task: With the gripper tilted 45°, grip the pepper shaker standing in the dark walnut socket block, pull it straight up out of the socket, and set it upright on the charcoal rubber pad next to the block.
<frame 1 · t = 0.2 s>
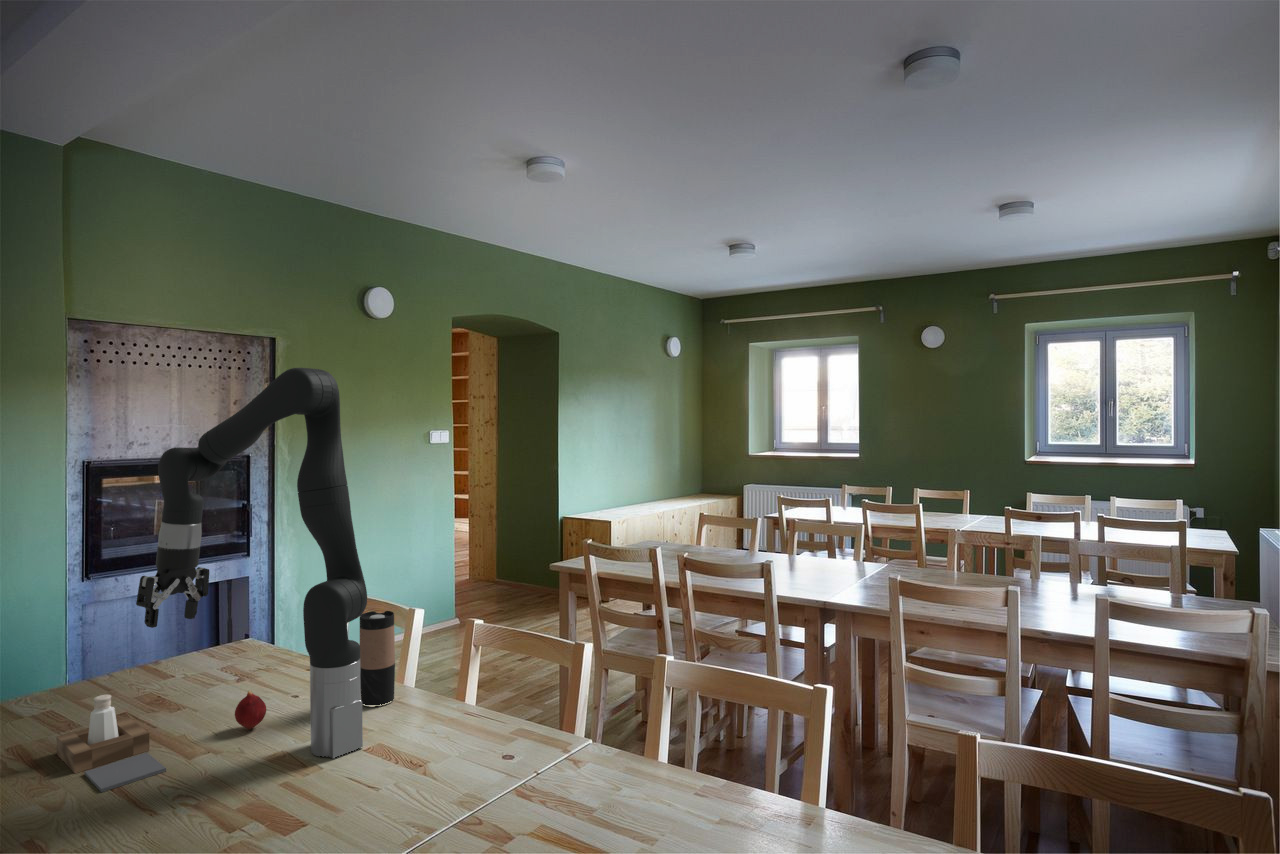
hand: (170, 622, 153), 23 cm above the table, tool pointing down, fingers open, 8 cm apart
pepper shaker: (103, 753, 145), resting in socket block
rubber pad: (125, 772, 137), on the table
travel mug: (377, 702, 171), on the table
socket block: (103, 752, 145), on the table
onion: (250, 730, 156), on the table
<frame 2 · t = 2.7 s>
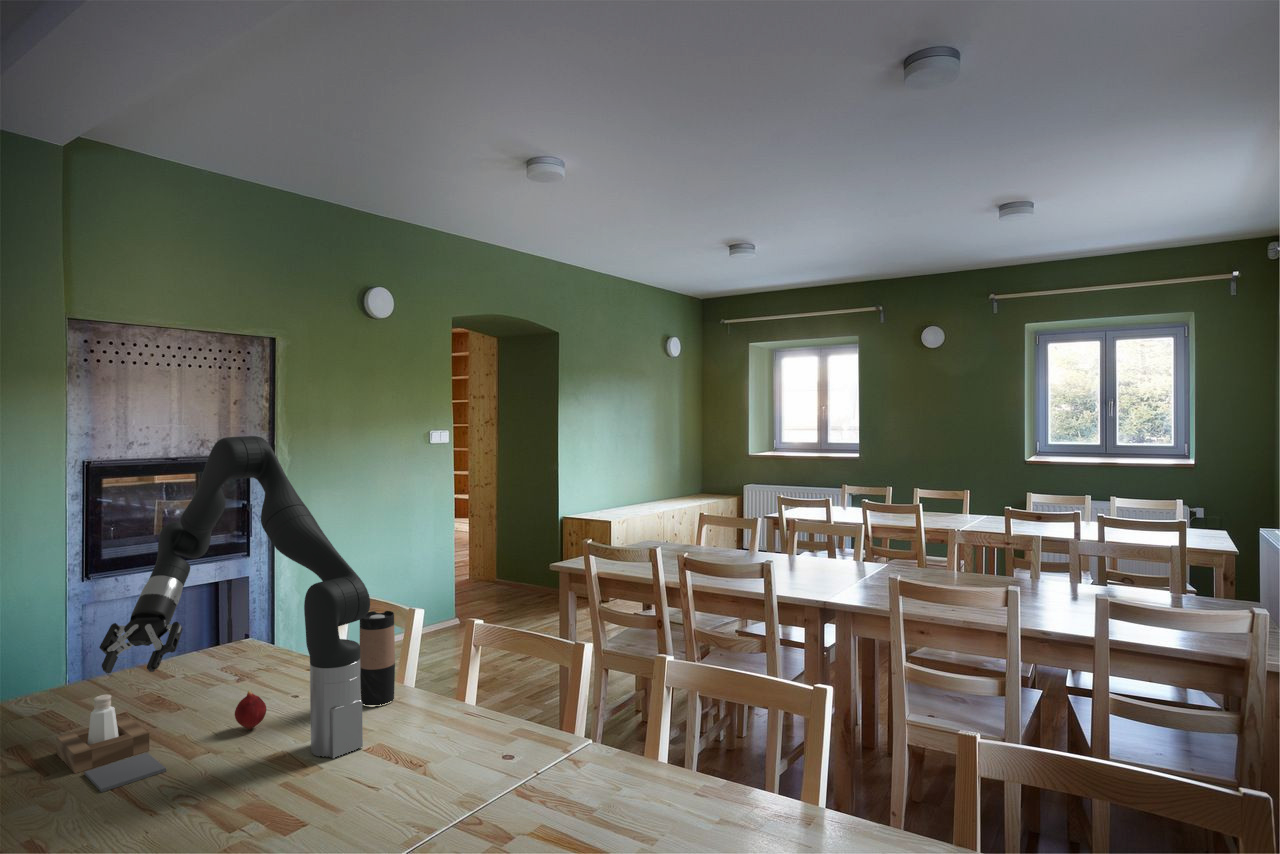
hand: (128, 670, 153), 13 cm above the table, tool tilted 45°, fingers open, 8 cm apart
nothing on the table moved.
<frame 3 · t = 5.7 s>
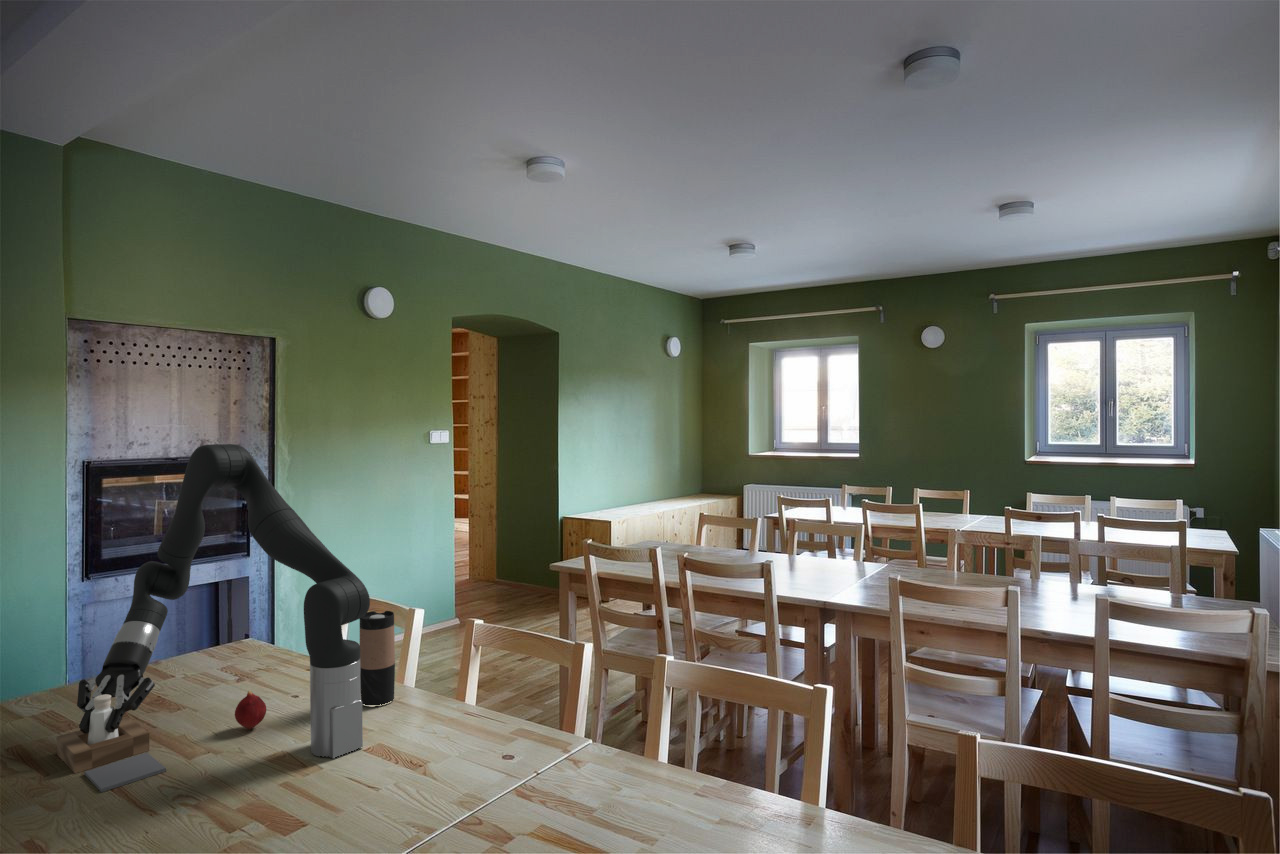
hand: (96, 731, 143), 5 cm above the table, tool tilted 45°, fingers closed on pepper shaker, 4 cm apart
pepper shaker: (103, 753, 145), resting in socket block, touching gripper
everything else where it was.
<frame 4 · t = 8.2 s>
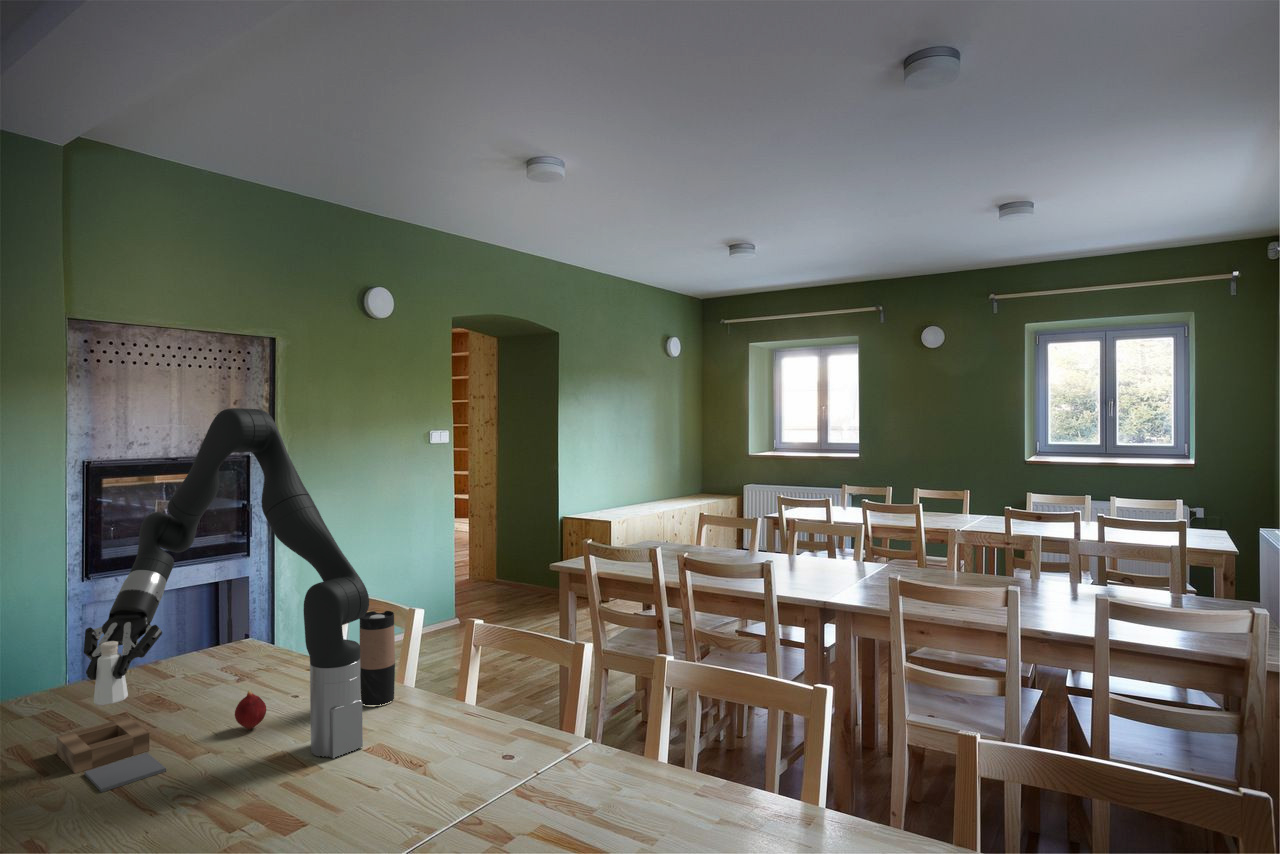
hand: (104, 677, 141), 16 cm above the table, tool tilted 45°, fingers closed on pepper shaker, 4 cm apart
pepper shaker: (111, 700, 143), point 11 cm above the table, touching gripper
everything else where it was.
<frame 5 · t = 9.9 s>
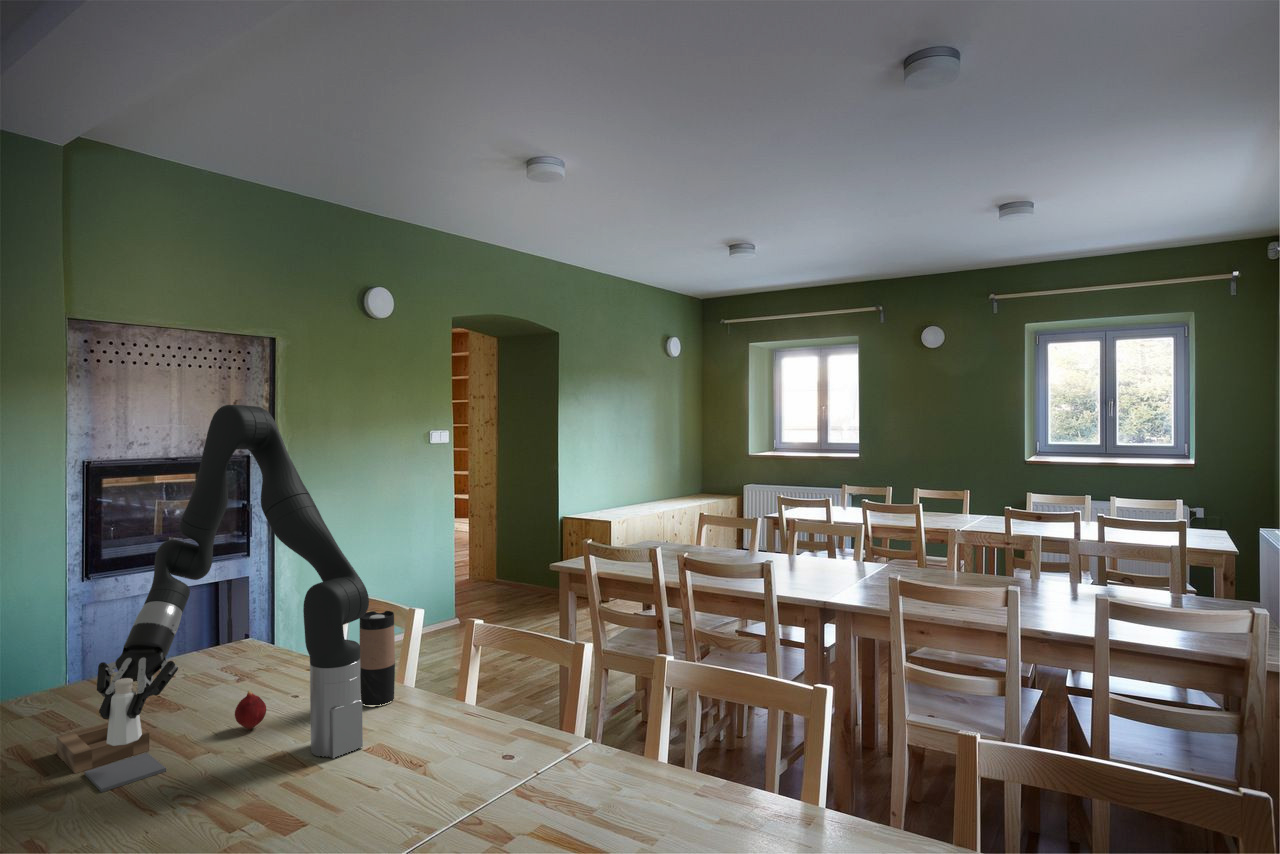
hand: (117, 716, 135), 11 cm above the table, tool tilted 45°, fingers closed on pepper shaker, 4 cm apart
pepper shaker: (124, 740, 137), point 6 cm above the table, touching gripper
everything else where it was.
when the fingers open (6 cm above the table, at t = 11.1 s): pepper shaker stays where it is, resting on rubber pad.
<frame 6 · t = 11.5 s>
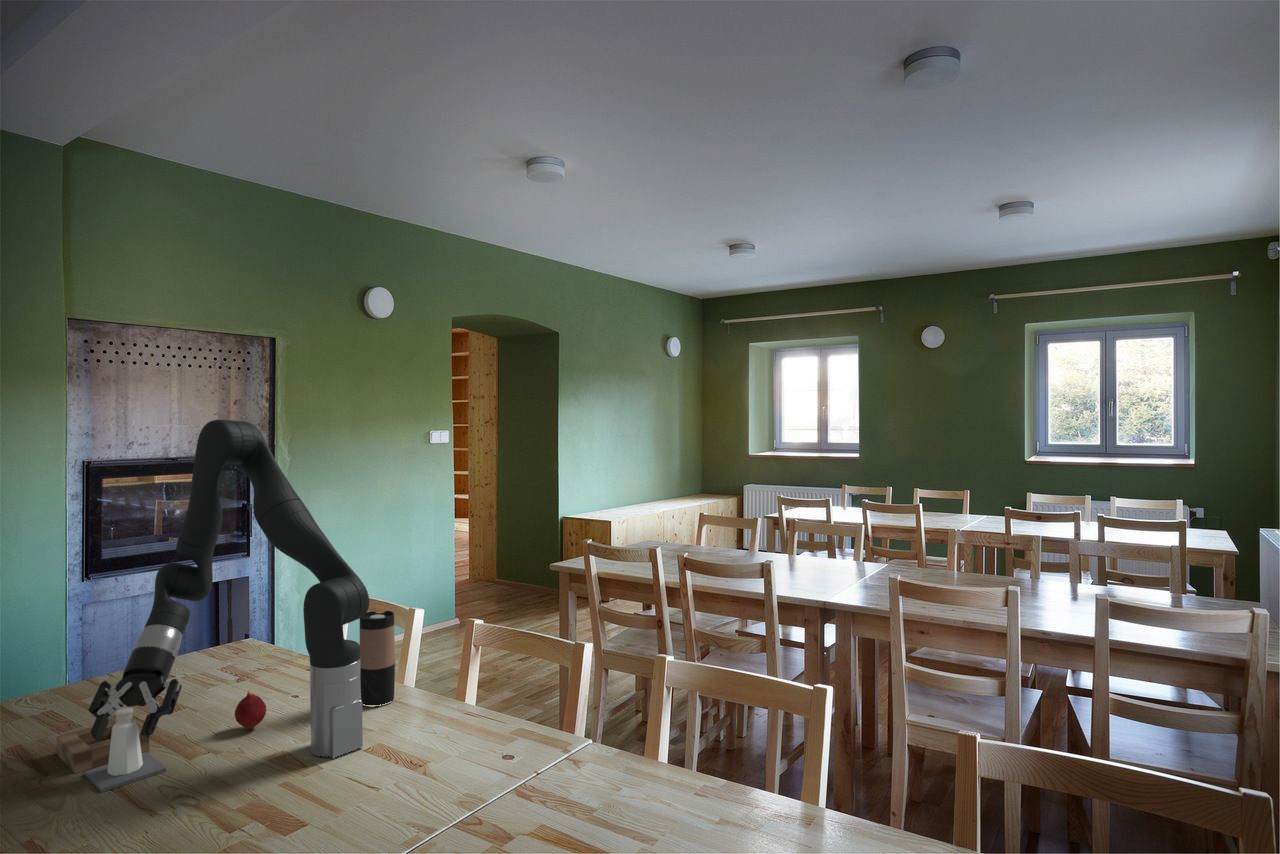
hand: (120, 737, 135), 7 cm above the table, tool tilted 45°, fingers open, 8 cm apart
pepper shaker: (125, 770, 137), resting on rubber pad
everything else where it was.
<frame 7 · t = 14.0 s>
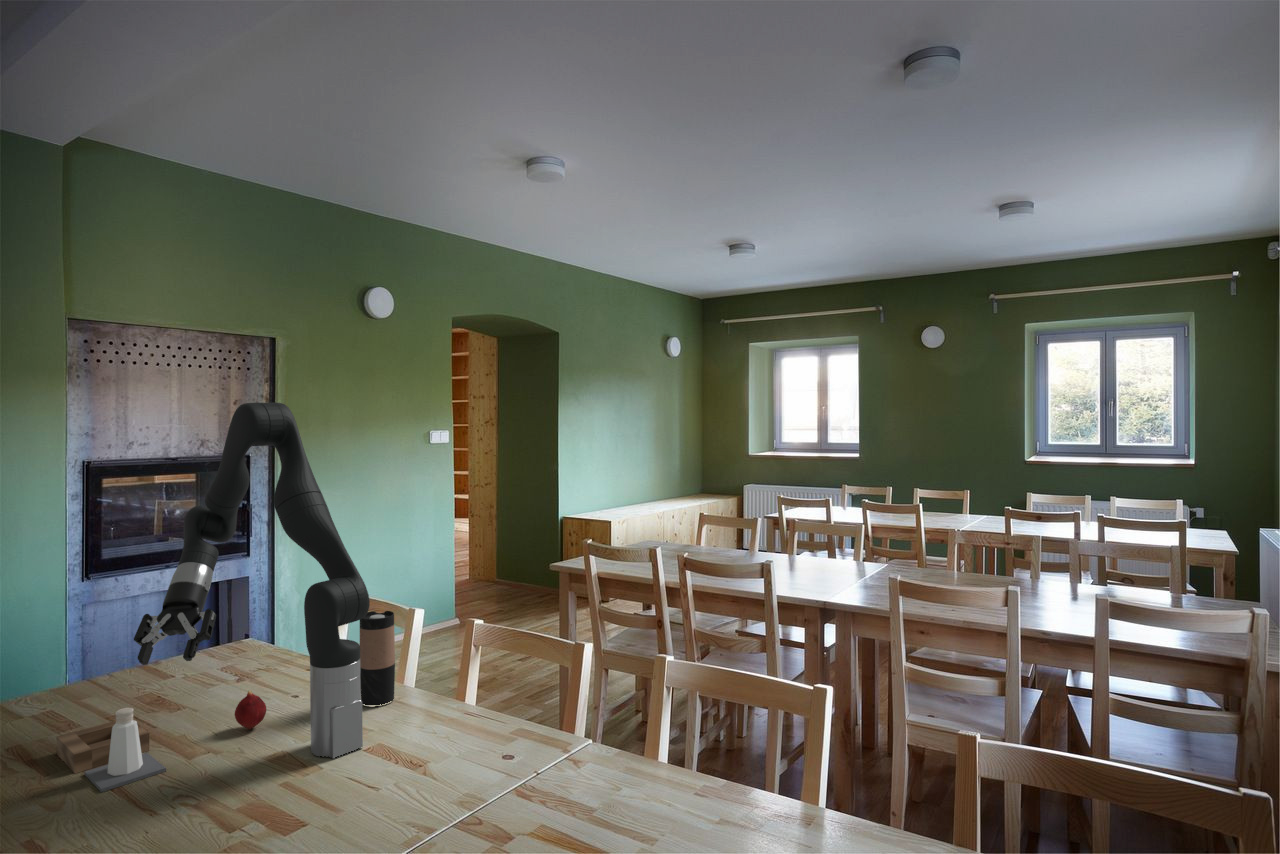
hand: (164, 661, 149), 16 cm above the table, tool tilted 40°, fingers open, 8 cm apart
nothing on the table moved.
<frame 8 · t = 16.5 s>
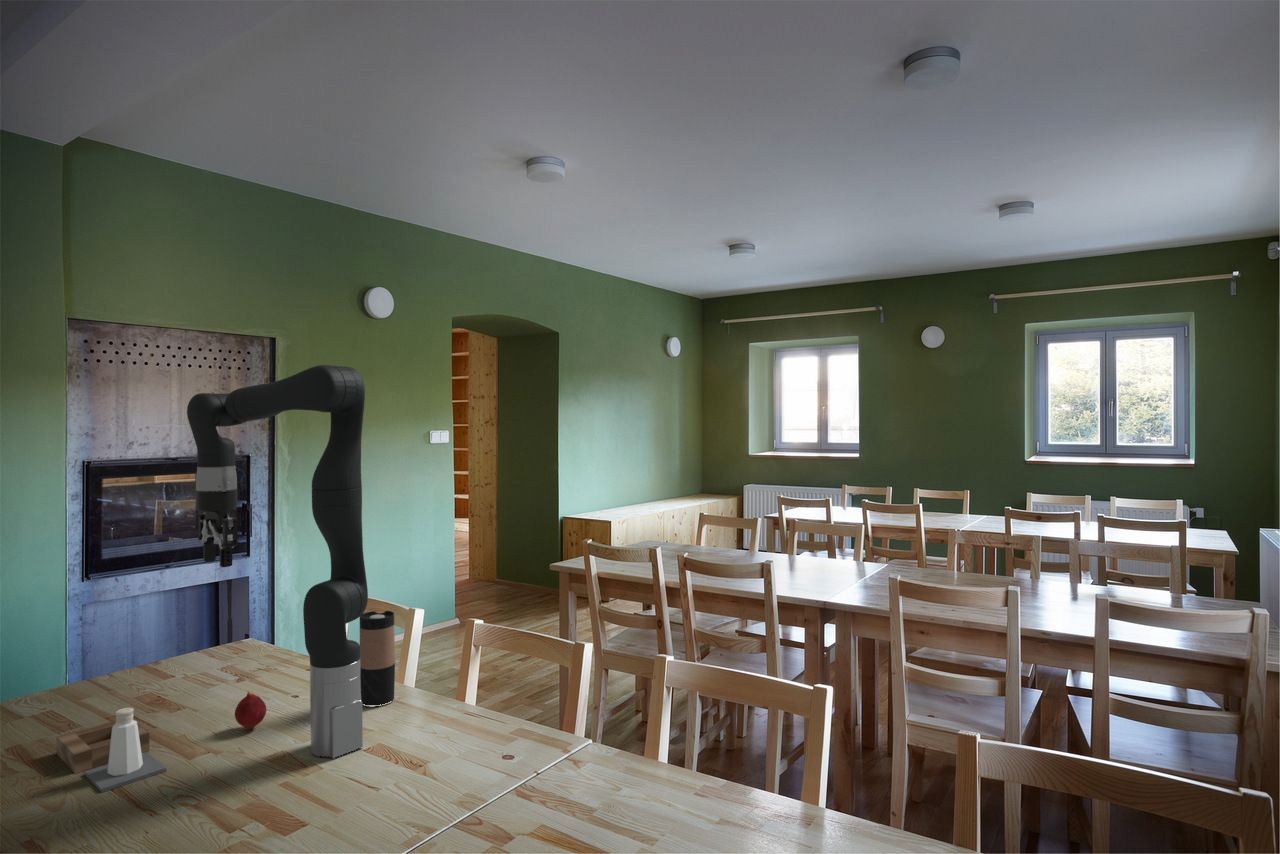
hand: (217, 564, 158), 34 cm above the table, tool pointing down, fingers open, 8 cm apart
nothing on the table moved.
at the end: pepper shaker inside the target area on the rubber pad (0.2 cm from its centre), point 0.4 cm above the rubber pad's base; pepper shaker tilted 0°; the gripper is holding nothing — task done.
